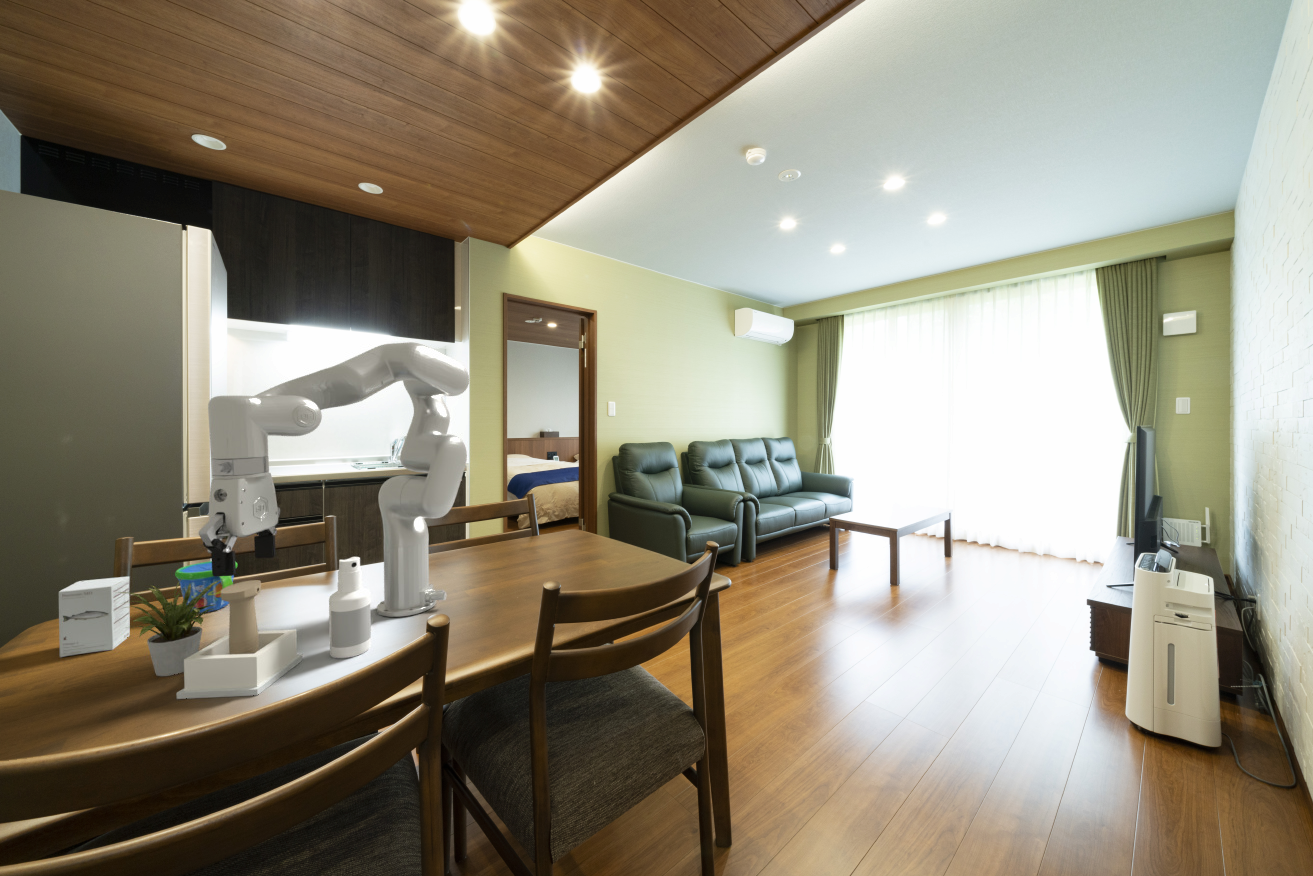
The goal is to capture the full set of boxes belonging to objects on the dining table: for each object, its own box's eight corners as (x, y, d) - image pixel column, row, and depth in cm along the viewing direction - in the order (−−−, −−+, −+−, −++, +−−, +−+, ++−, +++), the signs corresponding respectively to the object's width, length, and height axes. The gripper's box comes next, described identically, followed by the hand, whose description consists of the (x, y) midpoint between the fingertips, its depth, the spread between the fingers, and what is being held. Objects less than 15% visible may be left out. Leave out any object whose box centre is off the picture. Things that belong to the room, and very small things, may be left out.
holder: (302, 659, 92) (302, 627, 91) (257, 695, 80) (256, 659, 80) (233, 662, 90) (232, 630, 90) (176, 698, 78) (175, 662, 78)
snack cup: (163, 610, 114) (162, 567, 114) (219, 595, 124) (218, 556, 123) (194, 623, 107) (193, 577, 107) (251, 606, 117) (251, 564, 116)
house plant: (83, 701, 78) (80, 599, 77) (134, 661, 90) (131, 573, 90) (199, 682, 83) (197, 587, 83) (231, 647, 96) (230, 565, 95)
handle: (270, 660, 89) (266, 579, 88) (252, 678, 83) (248, 591, 82) (238, 664, 88) (234, 581, 87) (217, 683, 81) (213, 594, 81)
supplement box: (57, 658, 91) (55, 591, 91) (80, 642, 98) (78, 580, 97) (113, 650, 95) (111, 585, 94) (132, 635, 101) (130, 574, 101)
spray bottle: (340, 662, 91) (339, 566, 90) (322, 653, 94) (321, 560, 94) (378, 648, 96) (377, 557, 96) (359, 639, 100) (358, 552, 99)
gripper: (225, 474, 76) (231, 583, 77) (296, 462, 93) (300, 551, 94) (172, 475, 75) (179, 584, 76) (253, 462, 92) (257, 552, 93)
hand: (246, 566), depth 85 cm, fingers open, 9 cm apart
